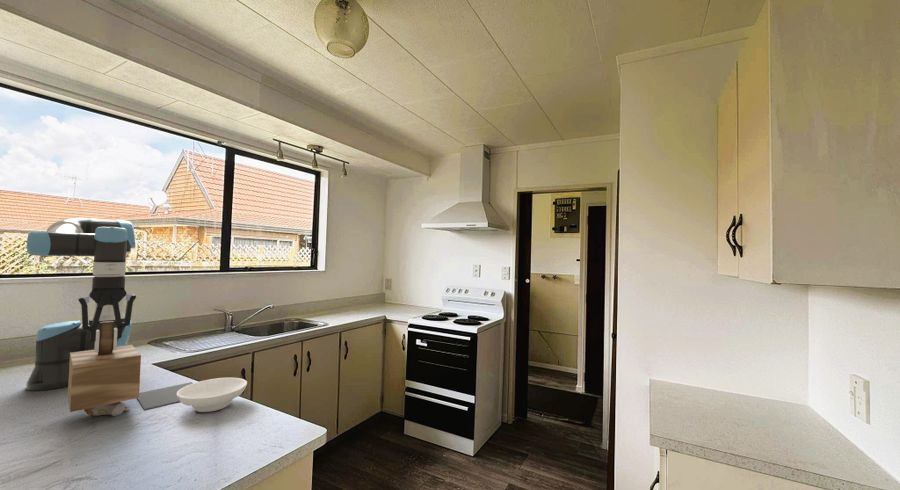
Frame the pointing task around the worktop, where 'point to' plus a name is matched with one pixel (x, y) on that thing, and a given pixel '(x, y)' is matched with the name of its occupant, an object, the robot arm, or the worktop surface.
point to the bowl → (211, 393)
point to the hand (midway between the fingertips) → (105, 350)
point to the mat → (160, 396)
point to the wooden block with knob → (103, 373)
